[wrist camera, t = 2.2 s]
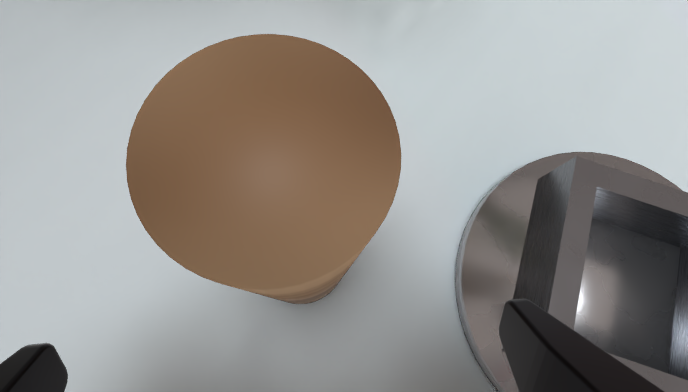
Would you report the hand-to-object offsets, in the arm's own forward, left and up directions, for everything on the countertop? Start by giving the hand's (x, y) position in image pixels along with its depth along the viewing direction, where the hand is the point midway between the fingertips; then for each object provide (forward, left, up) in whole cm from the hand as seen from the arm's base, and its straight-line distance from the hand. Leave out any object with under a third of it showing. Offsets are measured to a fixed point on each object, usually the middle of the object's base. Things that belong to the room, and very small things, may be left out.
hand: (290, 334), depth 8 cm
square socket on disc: (-5, -12, -10) cm, 17 cm away
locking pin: (+3, -1, -10) cm, 10 cm away
